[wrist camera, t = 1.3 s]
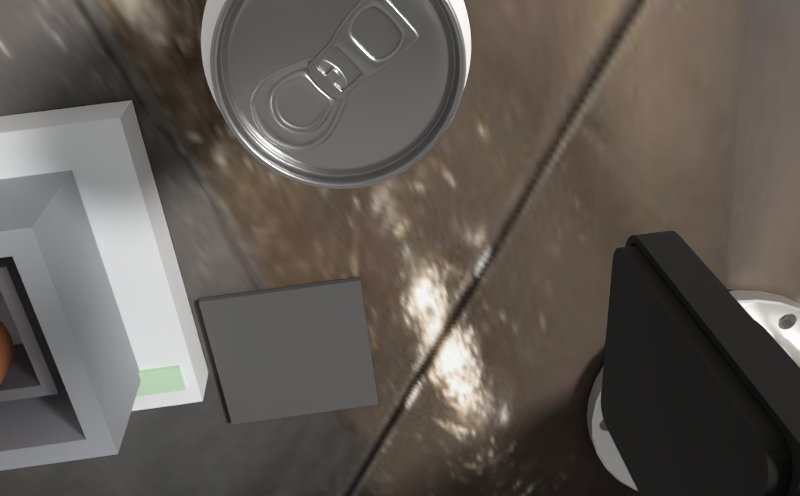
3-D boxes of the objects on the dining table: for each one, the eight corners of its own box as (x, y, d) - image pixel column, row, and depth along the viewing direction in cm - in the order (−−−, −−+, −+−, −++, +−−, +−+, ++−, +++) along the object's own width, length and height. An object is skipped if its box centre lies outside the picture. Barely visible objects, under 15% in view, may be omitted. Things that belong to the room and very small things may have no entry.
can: (199, -26, 27) (124, 70, 16) (330, -169, 25) (341, -164, 15) (331, 101, 29) (339, 255, 19) (457, -20, 28) (543, 76, 17)
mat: (359, 277, 33) (360, 280, 33) (377, 400, 37) (378, 404, 36) (199, 298, 33) (198, 302, 33) (232, 420, 36) (232, 424, 36)
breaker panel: (131, 100, 29) (86, 168, 23) (208, 372, 35) (187, 478, 29) (-195, 140, 28) (-323, 220, 22) (-57, 408, 35) (-130, 523, 29)
